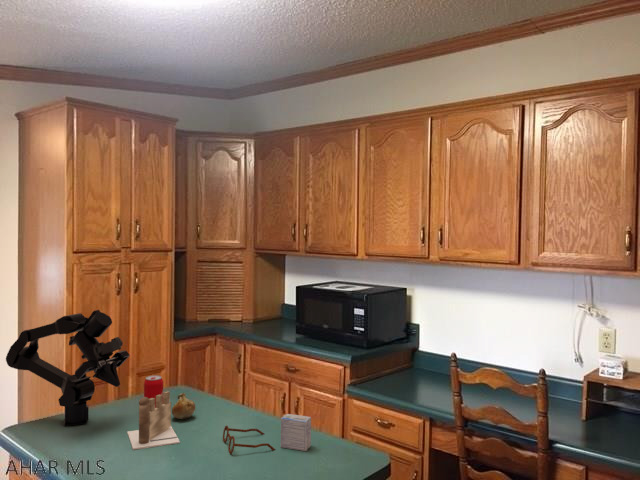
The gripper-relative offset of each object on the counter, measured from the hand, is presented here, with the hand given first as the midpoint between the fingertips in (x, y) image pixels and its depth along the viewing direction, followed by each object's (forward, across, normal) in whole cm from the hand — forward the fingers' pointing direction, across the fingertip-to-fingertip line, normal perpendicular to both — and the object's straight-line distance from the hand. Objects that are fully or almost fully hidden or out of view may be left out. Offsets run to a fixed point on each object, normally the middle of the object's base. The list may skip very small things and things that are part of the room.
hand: (118, 385), depth 169 cm
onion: (+19, +16, +1) cm, 25 cm away
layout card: (+19, -1, 0) cm, 19 cm away
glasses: (+40, +5, -20) cm, 45 cm away
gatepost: (+20, -6, 0) cm, 20 cm away
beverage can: (+10, +17, +9) cm, 22 cm away
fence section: (+19, +1, -1) cm, 19 cm away
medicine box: (+49, +8, -30) cm, 58 cm away
